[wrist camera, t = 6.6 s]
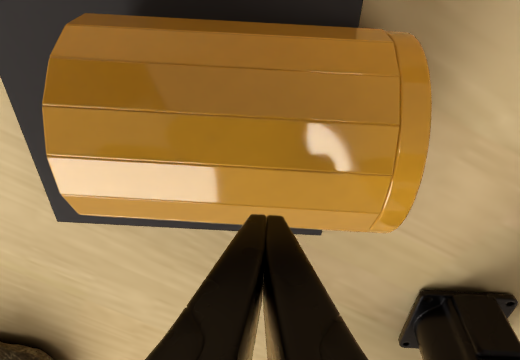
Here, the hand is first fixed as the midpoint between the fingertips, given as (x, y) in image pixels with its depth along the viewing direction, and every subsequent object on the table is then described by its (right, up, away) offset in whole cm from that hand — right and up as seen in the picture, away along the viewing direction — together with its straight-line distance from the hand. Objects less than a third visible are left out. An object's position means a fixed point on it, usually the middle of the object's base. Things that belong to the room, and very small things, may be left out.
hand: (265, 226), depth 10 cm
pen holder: (+5, +3, +4) cm, 7 cm away
